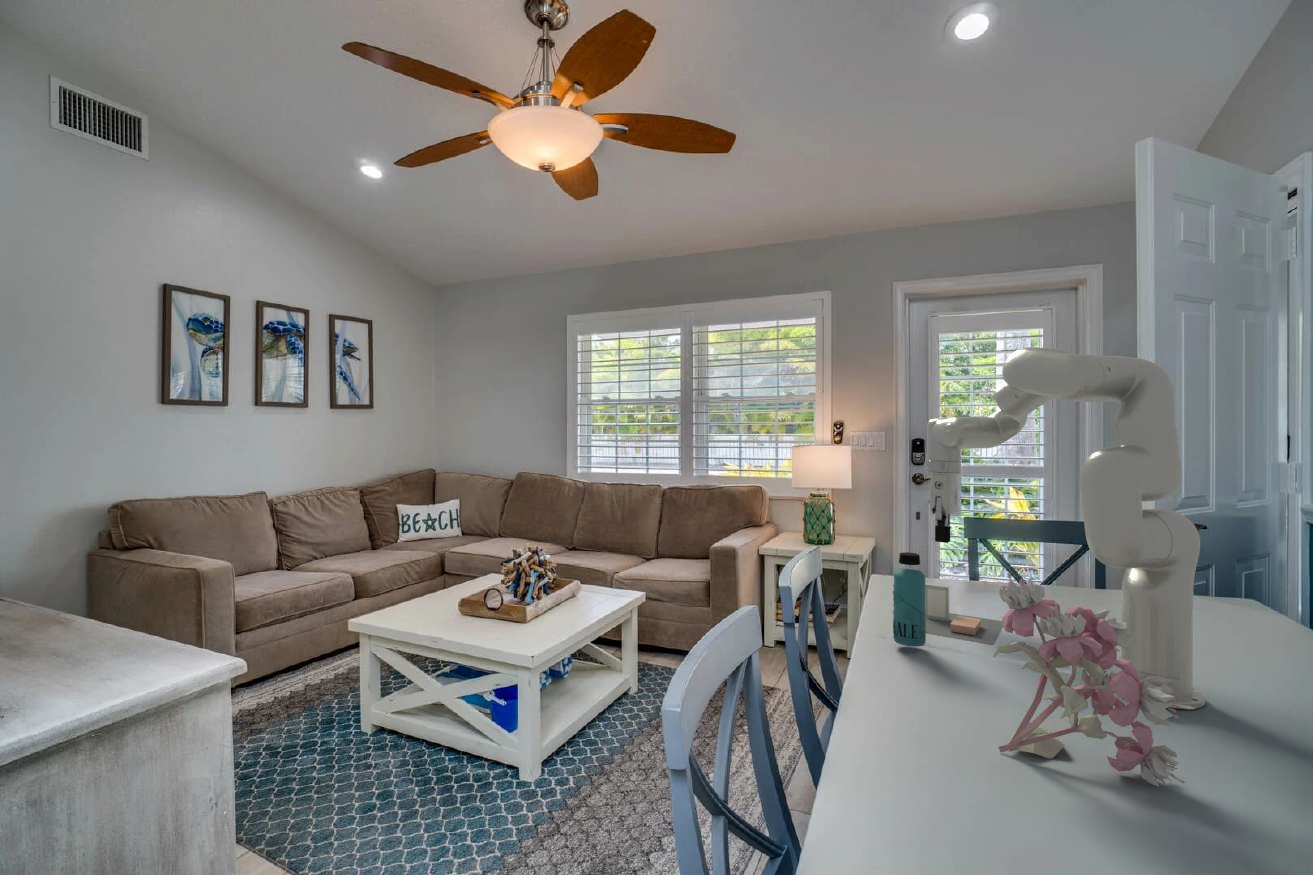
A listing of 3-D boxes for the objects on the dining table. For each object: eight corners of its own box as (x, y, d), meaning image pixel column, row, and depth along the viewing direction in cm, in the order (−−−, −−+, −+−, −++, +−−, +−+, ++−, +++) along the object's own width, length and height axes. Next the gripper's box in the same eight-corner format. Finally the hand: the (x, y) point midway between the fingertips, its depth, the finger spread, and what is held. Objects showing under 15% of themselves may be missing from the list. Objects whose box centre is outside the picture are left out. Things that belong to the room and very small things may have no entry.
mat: (993, 647, 129) (993, 644, 129) (894, 630, 141) (894, 627, 141) (1005, 624, 146) (1005, 621, 146) (915, 610, 157) (915, 607, 157)
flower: (1071, 818, 69) (1165, 616, 70) (930, 712, 91) (1003, 558, 91) (1180, 860, 75) (1265, 673, 76) (1023, 750, 96) (1090, 606, 97)
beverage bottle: (920, 644, 132) (920, 550, 132) (931, 655, 125) (931, 556, 125) (888, 643, 132) (888, 549, 132) (897, 654, 126) (897, 555, 126)
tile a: (981, 626, 141) (975, 636, 135) (957, 623, 144) (950, 631, 138) (981, 619, 141) (975, 627, 135) (957, 615, 144) (950, 623, 138)
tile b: (947, 621, 145) (947, 587, 145) (925, 618, 148) (925, 584, 148) (949, 619, 147) (949, 586, 147) (926, 616, 150) (926, 583, 150)
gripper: (953, 470, 145) (953, 548, 145) (965, 467, 157) (964, 539, 157) (919, 468, 150) (919, 544, 150) (933, 466, 162) (933, 536, 162)
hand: (942, 541), depth 154 cm, fingers closed
